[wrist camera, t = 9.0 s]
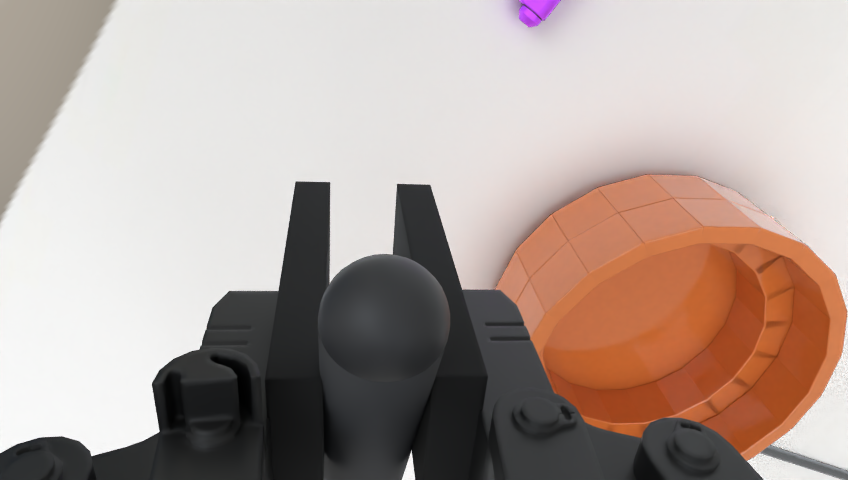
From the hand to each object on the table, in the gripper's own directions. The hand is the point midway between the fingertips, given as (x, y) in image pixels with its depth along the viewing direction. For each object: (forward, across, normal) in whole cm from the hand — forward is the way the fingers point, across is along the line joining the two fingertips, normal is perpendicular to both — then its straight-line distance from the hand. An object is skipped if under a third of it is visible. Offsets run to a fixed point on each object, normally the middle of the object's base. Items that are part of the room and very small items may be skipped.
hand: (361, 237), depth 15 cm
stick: (-2, 0, -7) cm, 7 cm away
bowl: (+14, +15, -11) cm, 24 cm away
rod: (+14, +30, -24) cm, 41 cm away
